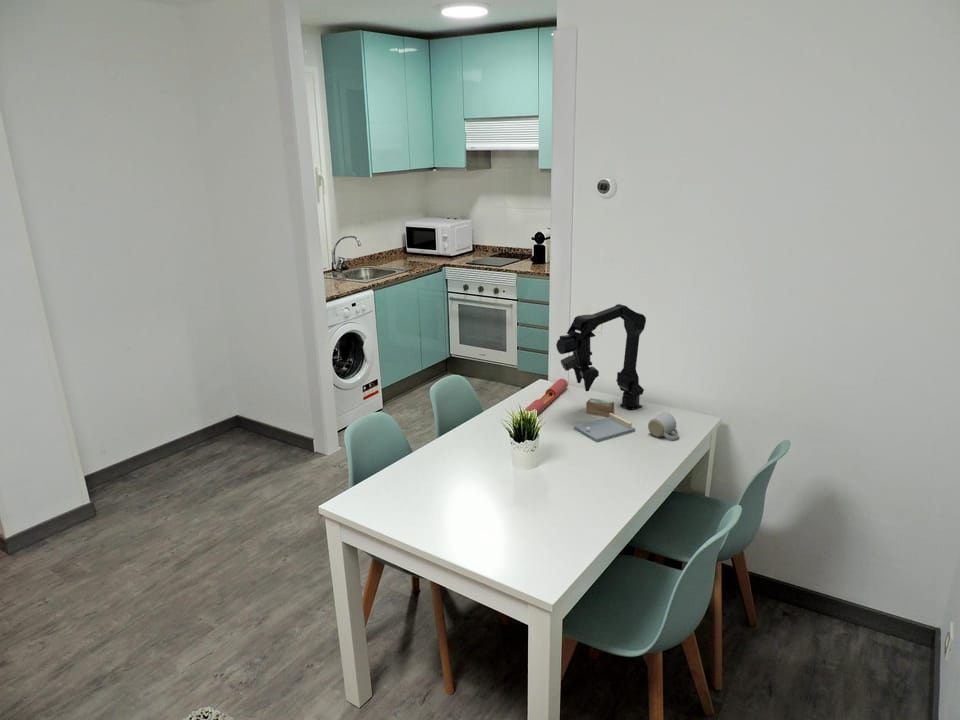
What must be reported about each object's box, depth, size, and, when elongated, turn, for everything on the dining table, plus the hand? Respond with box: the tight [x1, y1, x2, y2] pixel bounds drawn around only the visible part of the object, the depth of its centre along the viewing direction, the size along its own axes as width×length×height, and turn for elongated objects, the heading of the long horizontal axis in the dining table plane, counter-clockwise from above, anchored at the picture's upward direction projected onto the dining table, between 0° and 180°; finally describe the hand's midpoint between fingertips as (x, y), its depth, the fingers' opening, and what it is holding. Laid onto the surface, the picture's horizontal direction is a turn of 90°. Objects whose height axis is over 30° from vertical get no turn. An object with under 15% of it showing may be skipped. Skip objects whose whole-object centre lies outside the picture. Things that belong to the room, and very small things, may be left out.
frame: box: [585, 397, 615, 418], centre depth 264 cm, size 5×10×5 cm, turn 60°
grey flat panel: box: [573, 413, 636, 443], centre depth 249 cm, size 18×14×3 cm
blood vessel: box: [524, 378, 569, 416], centre depth 275 cm, size 42×5×5 cm, turn 153°
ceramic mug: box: [647, 411, 680, 441], centre depth 242 cm, size 11×8×8 cm
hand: (582, 387), depth 256 cm, fingers open, 9 cm apart
